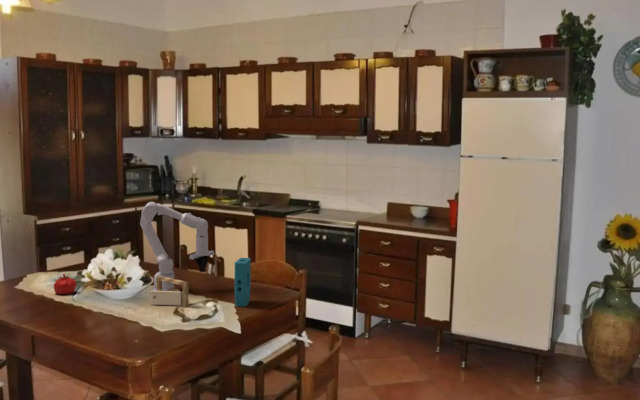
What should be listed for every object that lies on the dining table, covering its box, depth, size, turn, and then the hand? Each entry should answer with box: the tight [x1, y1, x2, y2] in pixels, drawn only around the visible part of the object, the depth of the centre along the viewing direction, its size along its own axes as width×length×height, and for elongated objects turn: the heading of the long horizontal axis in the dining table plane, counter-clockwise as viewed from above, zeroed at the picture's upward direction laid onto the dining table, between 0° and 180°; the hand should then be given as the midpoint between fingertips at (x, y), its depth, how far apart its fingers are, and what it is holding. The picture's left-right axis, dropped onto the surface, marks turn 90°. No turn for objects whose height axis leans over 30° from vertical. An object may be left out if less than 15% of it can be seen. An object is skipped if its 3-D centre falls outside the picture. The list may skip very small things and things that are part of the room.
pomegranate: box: [53, 273, 78, 295], centre depth 287 cm, size 10×10×9 cm
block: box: [234, 257, 252, 307], centre depth 275 cm, size 12×5×20 cm, turn 174°
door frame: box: [156, 276, 189, 308], centre depth 274 cm, size 19×2×11 cm, turn 55°
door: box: [150, 290, 183, 306], centre depth 270 cm, size 15×2×6 cm, turn 88°
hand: (202, 271), depth 296 cm, fingers closed
